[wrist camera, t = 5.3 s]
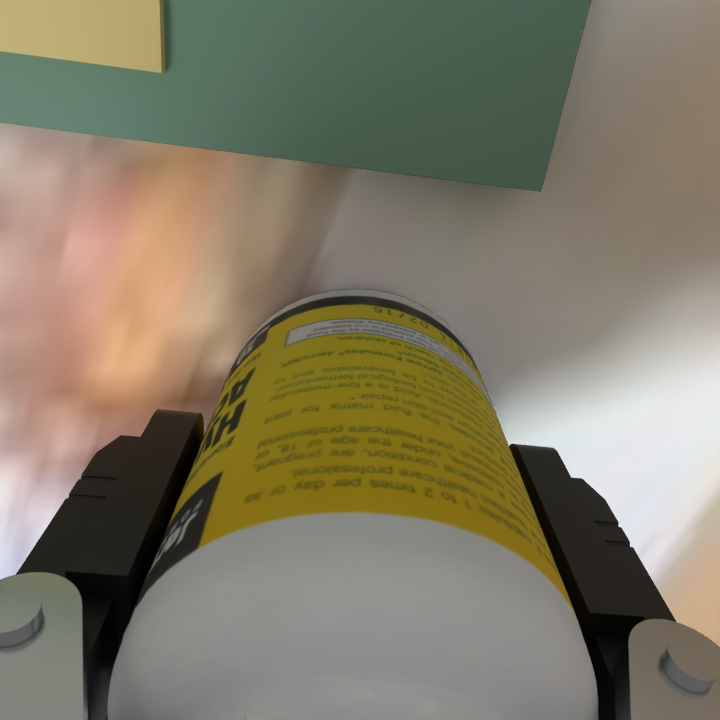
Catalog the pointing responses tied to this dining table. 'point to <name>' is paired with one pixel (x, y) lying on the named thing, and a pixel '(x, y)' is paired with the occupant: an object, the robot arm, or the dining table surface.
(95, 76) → the board
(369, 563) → the supplement bottle
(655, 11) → the dining table surface
